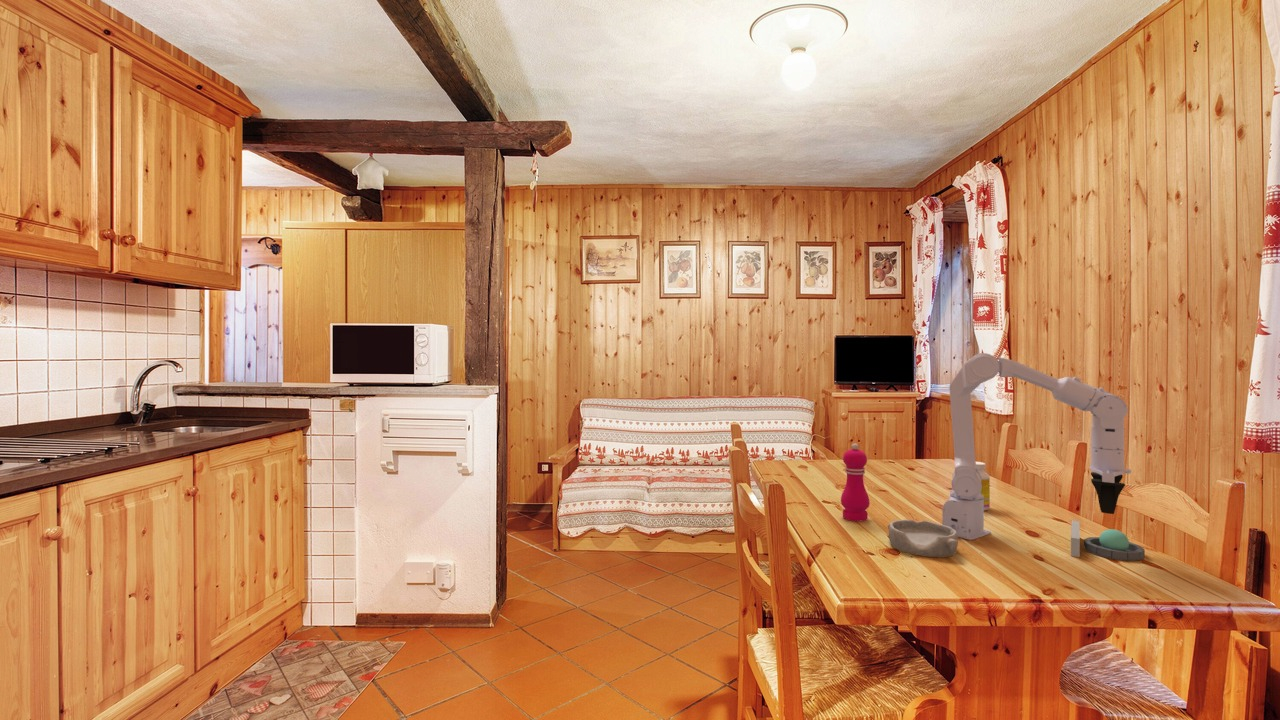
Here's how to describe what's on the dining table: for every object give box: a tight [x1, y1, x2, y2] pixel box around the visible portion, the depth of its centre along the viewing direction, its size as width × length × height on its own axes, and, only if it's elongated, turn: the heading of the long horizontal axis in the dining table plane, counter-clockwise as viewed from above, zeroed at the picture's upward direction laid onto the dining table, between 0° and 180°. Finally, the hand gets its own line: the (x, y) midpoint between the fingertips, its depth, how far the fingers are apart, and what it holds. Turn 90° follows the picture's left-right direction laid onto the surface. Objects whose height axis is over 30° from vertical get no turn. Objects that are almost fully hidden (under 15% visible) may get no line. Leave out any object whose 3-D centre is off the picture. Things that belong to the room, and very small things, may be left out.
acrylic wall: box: [1070, 519, 1081, 558], centre depth 131 cm, size 16×2×4 cm, turn 143°
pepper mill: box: [840, 443, 870, 522], centre depth 154 cm, size 7×7×20 cm
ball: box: [1099, 528, 1130, 551], centre depth 125 cm, size 5×5×5 cm
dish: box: [887, 519, 959, 558], centre depth 131 cm, size 14×14×5 cm
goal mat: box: [1083, 536, 1146, 562], centre depth 126 cm, size 10×10×2 cm
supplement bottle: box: [976, 461, 991, 511], centre depth 162 cm, size 7×7×13 cm
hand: (1106, 509), depth 127 cm, fingers open, 7 cm apart
